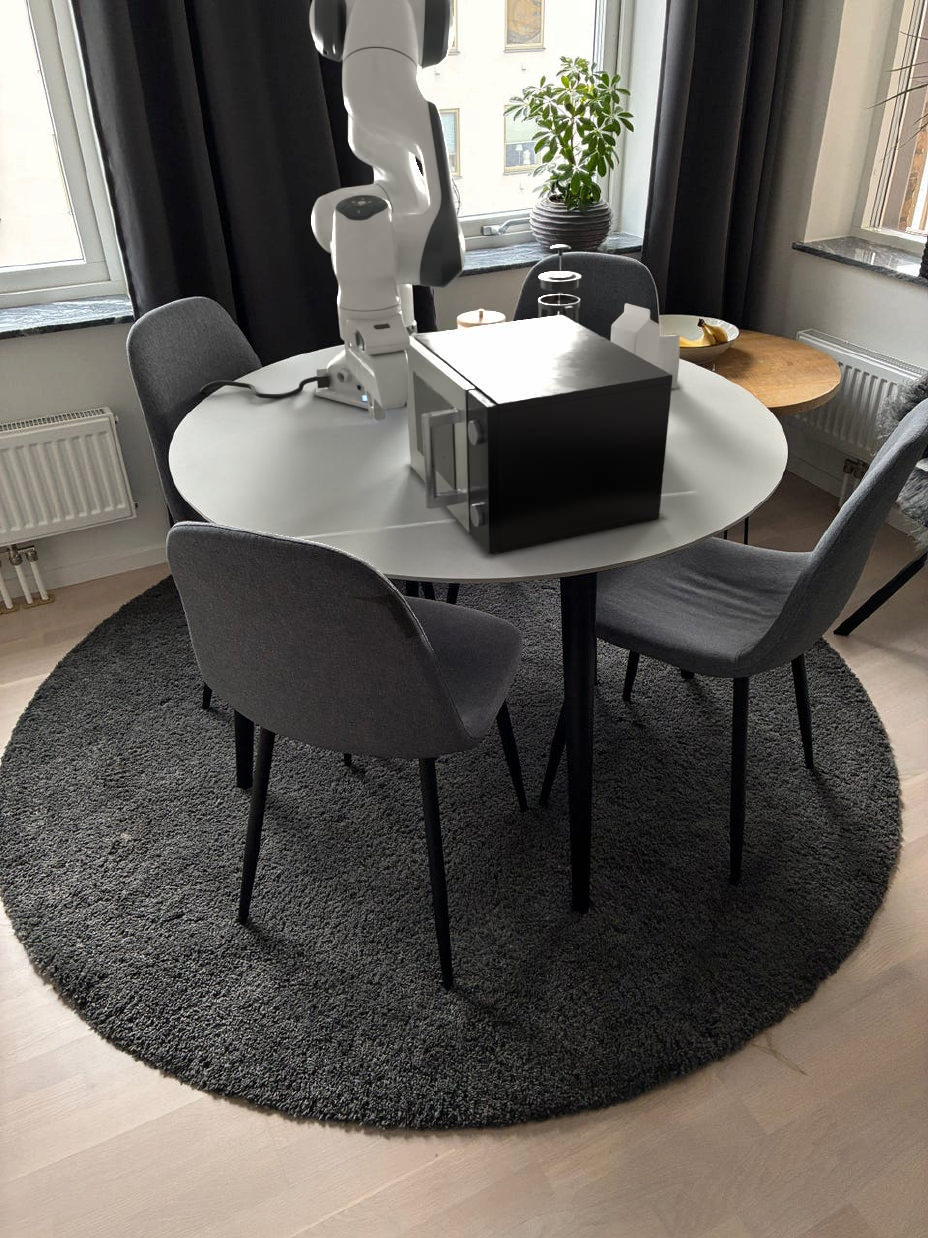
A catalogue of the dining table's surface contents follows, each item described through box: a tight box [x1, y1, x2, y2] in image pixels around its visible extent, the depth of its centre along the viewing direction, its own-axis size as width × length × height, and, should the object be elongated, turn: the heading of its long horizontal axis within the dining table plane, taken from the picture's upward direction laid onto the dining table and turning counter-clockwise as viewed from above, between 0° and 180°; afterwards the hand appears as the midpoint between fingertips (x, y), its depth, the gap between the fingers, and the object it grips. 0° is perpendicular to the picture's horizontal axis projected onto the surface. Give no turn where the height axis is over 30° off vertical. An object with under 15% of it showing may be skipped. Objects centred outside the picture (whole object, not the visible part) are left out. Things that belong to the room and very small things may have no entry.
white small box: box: [657, 334, 681, 389], centre depth 187 cm, size 4×7×10 cm, turn 91°
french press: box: [537, 244, 582, 324], centre depth 201 cm, size 12×9×23 cm
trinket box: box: [456, 308, 506, 330], centre depth 209 cm, size 11×11×9 cm
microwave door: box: [405, 337, 476, 533], centre depth 142 cm, size 7×27×22 cm, turn 21°
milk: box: [610, 302, 662, 366], centre depth 164 cm, size 6×6×22 cm
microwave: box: [414, 314, 673, 555], centre depth 143 cm, size 28×34×22 cm
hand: (377, 416), depth 140 cm, fingers closed
